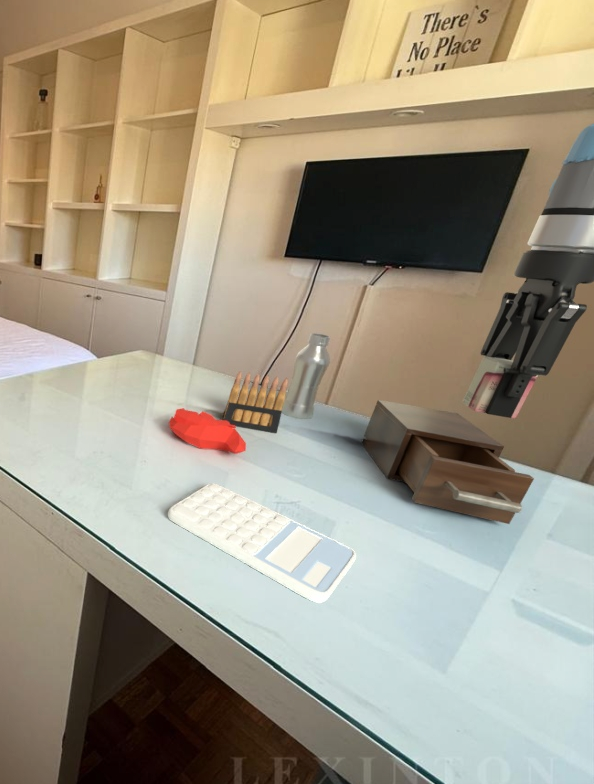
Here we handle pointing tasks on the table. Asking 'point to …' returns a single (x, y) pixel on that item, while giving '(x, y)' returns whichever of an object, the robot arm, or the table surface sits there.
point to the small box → (490, 384)
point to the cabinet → (416, 433)
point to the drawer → (462, 479)
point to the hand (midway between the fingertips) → (488, 409)
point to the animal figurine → (206, 431)
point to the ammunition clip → (255, 404)
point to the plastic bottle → (307, 377)
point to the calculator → (266, 541)
